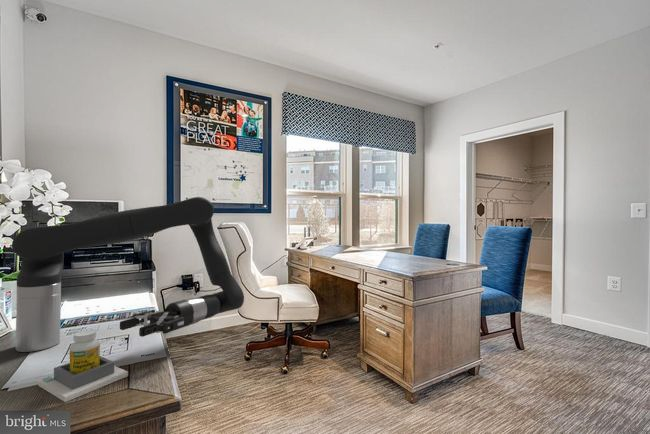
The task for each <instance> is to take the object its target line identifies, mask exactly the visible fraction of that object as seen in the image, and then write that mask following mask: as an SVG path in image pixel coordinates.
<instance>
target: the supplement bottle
mask: <svg viewBox="0 0 650 434" xmlns="http://www.w3.org/2000/svg"><path fill="white" fill-rule="evenodd" d="M100 348H101V343H100V340H99V339H98V338H97V330H95V329H84V330H80V331H77V332H75V333H74V334H73V343H72V344H71V345H70V347H69V363H70V373H72V374H74V375H76V374H79V373H81V372H84V371H87V370H90V369H92V368H95V367H98V366H100V356H101V354H100V353H101V349H100Z"/></svg>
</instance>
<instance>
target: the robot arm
mask: <svg viewBox="0 0 650 434" xmlns="http://www.w3.org/2000/svg"><path fill="white" fill-rule="evenodd" d="M214 213H215V208H214V205H213V203H212V201H210V200H209V199H207V198H205V197H201V196H196V197H195V196H194V197H190V198H187V199H184V200H179V201H178V202H177V201H176V202H173V203H169V204H165V205H156V206H149V207H140V208H135V209H128V210H122V211H116V212H115V211H114V212H111V213H106V214H103V215H99V216H96V217H92V218H88V219H85V220H81V221H78V222H72V223H71V222H70V223H67V224H66V223H65V224H57V225H39V226H32V227H27V228H24V229H23V230H21V231H20V232H18V233H17V235H15V237H14V238H13V240H12V242H11V248H12V251H13V252H14V254H16V256H18V257H20V258H21V267H20V270H19V272H18V274H17V277H16V303H15V304H16V307H15V309H16V310H15V351H16V352H18V353H19V352H20V353H27V352H29V353H30V352H37V351H41V350H46V349H48V348H52V347H55V346H56V345H58V344H60V342H61V310H62V309H61V306H62V304H61V303H62V300H61V299H62V274H63V272H64V271H63V270H64V258H65V253H67V252H71V251H74V250H80V249H83V248H89V247H99V246H106V245H113V244H118V243H119V244H120V243H124V242H131V241H135V240H138V239H142V238H146V237H149V236H151V235H154V234H157V233H159V232H162V231H164V230H167V229H170V228H175V227H181V226H189V227H190V230H191V231H192V234H193V235H194V237H195V240H196V241H197V244H198V247H199V250H200V253H201V257H202V259H203V263H204V266H205V270H206V272H207V276H208V278H209V281H210V284H211V285H212V286H216V287H220V288H221V291H218V292H215V293H212V294H205V295H201V296H198V297H190V298H186V299H181V300H179V301H174V302H171V303H168V304H167V306H166V307H165V308H164V311H163V310H158V311H156V310H155V309H151V310H147V311H142V312H139V313H134V314H132V318H128V319H127V318H126V319H124V320H121V321H120V322H119V330H121V331H124V330H128V329H132V328H136V327H139V329H138V330H139V331H138V332H139V334H138V335H139V337H142V338H143V337H146V336H149V335H152V334H155V333H156V334H160V333H162V334H163V335H164V334H165V335H166V334H169V333H171V332H173V331H177V330H179V329H182V328H186V327H189V326H192V325H194V324H197V323H199V322H201V321H204V320H207V319H210V318H212V317H214V316H216V315H218V314H221V313H222V314H223V313H225V312H229V311H234V310H238V309H241V307H242V306H243V305H244V303H245V302H244V301H245V294H244V292H243V289H242V288H241V286H240V284H239V283H238V281H236V278H235V277H234V276H233V275H232V271H231V270H230V266H229V263H228V261H227V258H226V255H225V253H224V251H223V250H222V247H221V246H220V244H219V241H218V240H217V236H216V234H215V231H214V227H213V221H212V220H213V219H212V218H213V216H214Z"/></svg>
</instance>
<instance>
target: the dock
mask: <svg viewBox="0 0 650 434" xmlns="http://www.w3.org/2000/svg"><path fill="white" fill-rule="evenodd" d="M128 376H129V371H127V370H125V369H123V368H120V367H118V366H116V365H115V361H113V360H110V359H109V358H106V357H104V356H101V355H100V366H98V367H95V368H92V369H90V370H87V371H84V372H81V373H79V374H76V375H74V374H72V373H70V362H68V363H64V364H62V365H58V366H56V367H54V368H53V375H52V376H49V375H48V376H45V377H43V378H42V379H40V380H38V382H37V384H38V387H40V388H41V389H42V390H45V391H46V392H48V393H50V394H51V395H52V396H54V397H56V398H57V399H59V400H61V401H62V402H64V403H66V402H69V401H72V400H74V399H76V398H78V397H81V396H83V395H86V394H88V393H91V392H93V391H95V390H98V389H101V388H102V387H104V386H107V385H110V384H112V383H115V382H117V381H119V380H122V379H124V378H126V377H128Z"/></svg>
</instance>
